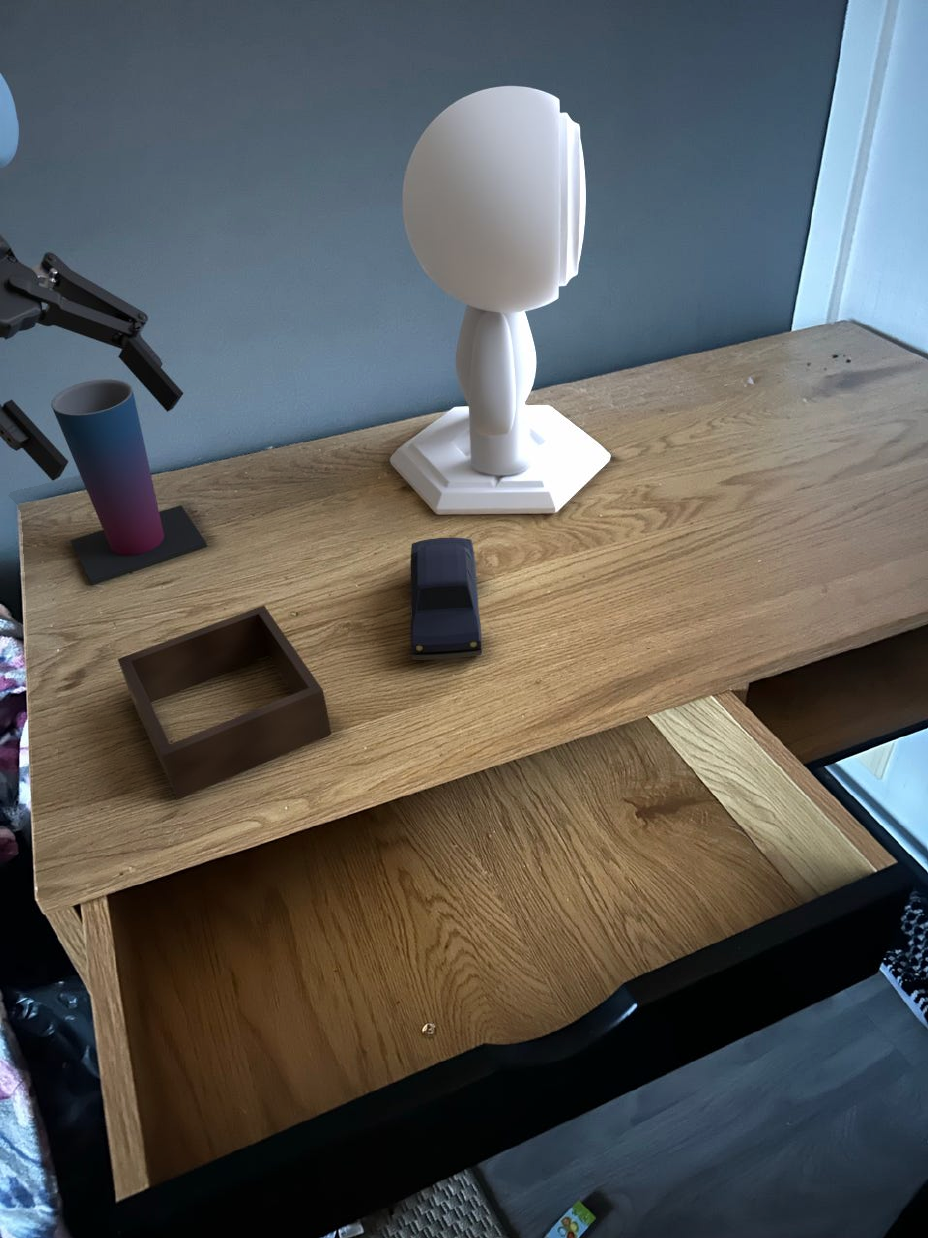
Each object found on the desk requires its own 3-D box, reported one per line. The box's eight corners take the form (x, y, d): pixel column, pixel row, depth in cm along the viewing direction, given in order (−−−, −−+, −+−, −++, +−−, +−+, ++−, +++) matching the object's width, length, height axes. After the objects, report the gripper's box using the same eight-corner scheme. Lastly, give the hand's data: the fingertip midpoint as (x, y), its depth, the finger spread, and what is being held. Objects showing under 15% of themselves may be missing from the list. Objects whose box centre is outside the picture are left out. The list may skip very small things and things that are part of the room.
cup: (168, 514, 97) (128, 373, 88) (178, 550, 92) (136, 404, 83) (98, 531, 95) (49, 388, 86) (103, 568, 90) (52, 421, 81)
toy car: (411, 672, 78) (405, 624, 75) (411, 565, 89) (406, 518, 86) (485, 667, 78) (482, 618, 75) (475, 560, 89) (473, 514, 86)
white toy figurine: (615, 513, 94) (636, 110, 72) (378, 515, 96) (328, 123, 74) (605, 415, 109) (620, 59, 87) (401, 419, 111) (365, 71, 89)
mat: (91, 585, 89) (89, 581, 89) (71, 544, 95) (70, 539, 94) (207, 546, 93) (206, 542, 93) (182, 508, 99) (181, 504, 98)
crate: (177, 800, 69) (161, 755, 66) (133, 701, 77) (117, 658, 74) (331, 734, 73) (323, 689, 70) (273, 647, 81) (264, 604, 78)
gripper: (48, 223, 93) (201, 398, 96) (-201, 318, 77) (-6, 525, 80) (70, 169, 88) (232, 356, 91) (-193, 258, 71) (16, 482, 74)
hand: (121, 435), depth 85 cm, fingers open, 13 cm apart
